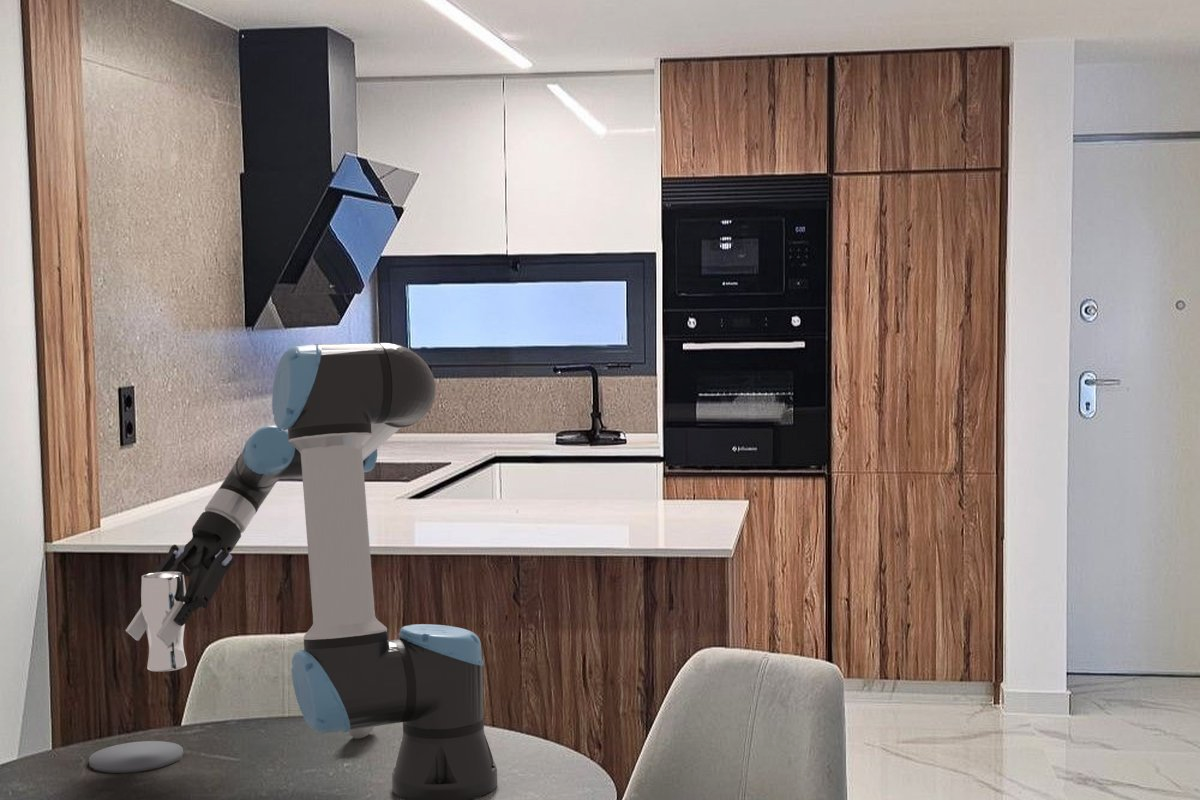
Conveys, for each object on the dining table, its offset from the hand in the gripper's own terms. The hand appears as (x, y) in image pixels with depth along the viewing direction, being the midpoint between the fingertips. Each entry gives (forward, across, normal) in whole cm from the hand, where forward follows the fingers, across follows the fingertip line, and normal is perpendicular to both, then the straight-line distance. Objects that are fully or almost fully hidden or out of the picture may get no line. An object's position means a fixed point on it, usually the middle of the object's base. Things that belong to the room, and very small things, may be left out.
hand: (147, 637), depth 232 cm
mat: (+16, -2, -10) cm, 19 cm away
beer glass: (+2, 0, -7) cm, 7 cm away
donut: (-3, -24, -29) cm, 38 cm away
